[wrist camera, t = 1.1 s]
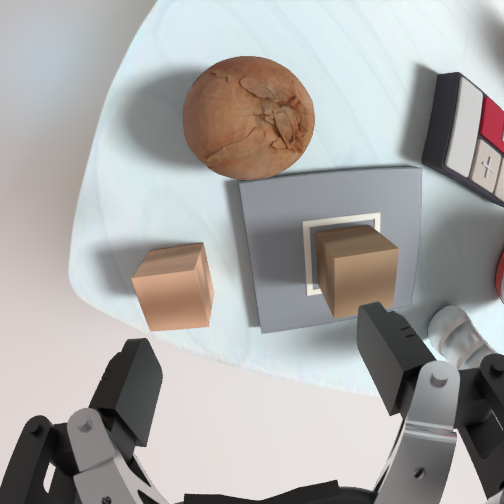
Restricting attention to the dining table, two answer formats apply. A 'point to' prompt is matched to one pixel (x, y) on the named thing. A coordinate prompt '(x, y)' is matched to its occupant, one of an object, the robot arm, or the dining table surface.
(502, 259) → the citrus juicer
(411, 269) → the grey flat plate
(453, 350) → the plastic bottle
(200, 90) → the onion
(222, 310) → the dining table surface
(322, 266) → the walnut block
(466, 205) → the dining table surface
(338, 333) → the dining table surface
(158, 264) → the terracotta block
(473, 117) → the calculator
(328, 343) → the dining table surface
